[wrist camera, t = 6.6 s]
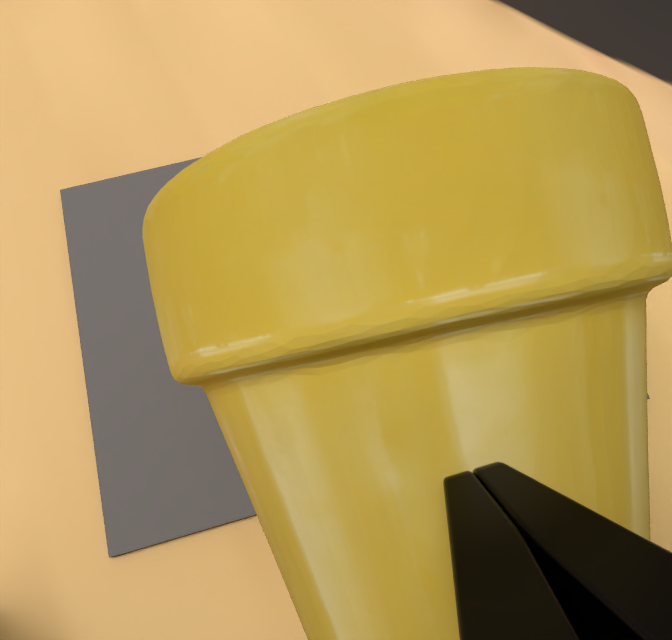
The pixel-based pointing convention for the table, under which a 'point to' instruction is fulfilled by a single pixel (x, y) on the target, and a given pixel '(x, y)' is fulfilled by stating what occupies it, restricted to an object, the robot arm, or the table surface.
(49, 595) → the table surface
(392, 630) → the plant pot
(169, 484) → the mat
